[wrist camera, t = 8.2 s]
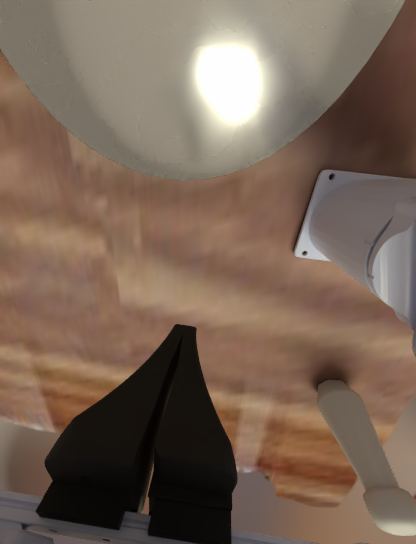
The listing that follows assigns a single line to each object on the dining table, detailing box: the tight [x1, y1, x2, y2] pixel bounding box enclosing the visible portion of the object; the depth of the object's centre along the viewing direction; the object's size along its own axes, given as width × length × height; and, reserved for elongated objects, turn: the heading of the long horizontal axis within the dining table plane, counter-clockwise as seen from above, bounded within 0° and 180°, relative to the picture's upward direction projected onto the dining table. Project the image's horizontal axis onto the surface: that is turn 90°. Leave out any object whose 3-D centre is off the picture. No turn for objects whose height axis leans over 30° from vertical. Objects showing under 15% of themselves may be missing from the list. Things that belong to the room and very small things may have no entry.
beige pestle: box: [317, 379, 416, 536], centre depth 23 cm, size 6×6×13 cm
